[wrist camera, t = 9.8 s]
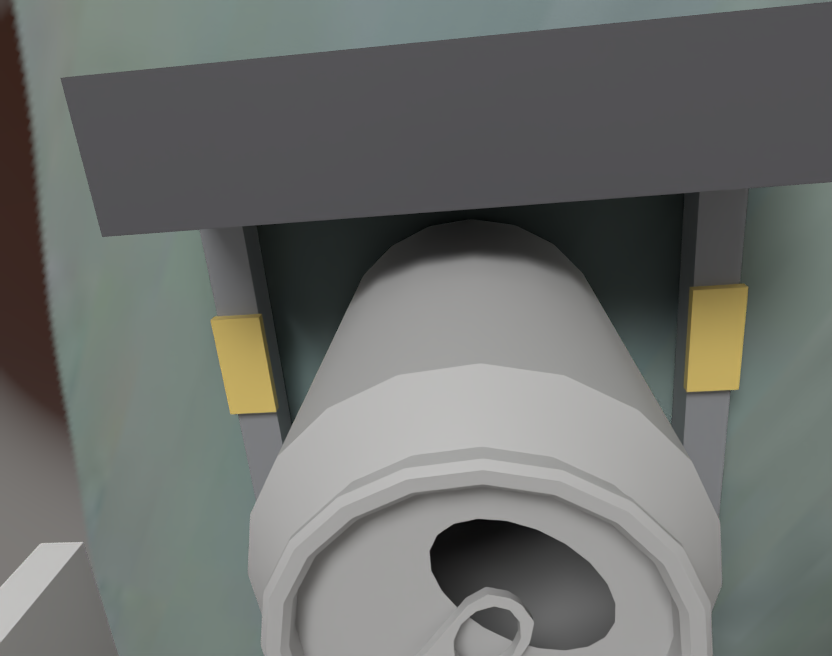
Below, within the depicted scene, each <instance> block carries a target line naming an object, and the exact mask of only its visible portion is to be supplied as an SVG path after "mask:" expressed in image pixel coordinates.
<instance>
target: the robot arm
mask: <svg viewBox="0 0 832 656" xmlns="http://www.w3.org/2000/svg"><path fill="white" fill-rule="evenodd" d="M0 656H119V655H118V652H117V649H116V646H115V642H114V639H113V636H112V633H111V629H110V626H109V623H108V620H107V616H106V613H105V610H104V607H103V603H102V600H101V597H100V594H99V590H98V587H97V584H96V581H95V577H94V574H93V571H92V568H91V564H90V561H89V558H88V554H87V551H86V548H85V545H84V542H67V543H41V544H40V545H39V546H38V547H37V548H36V549H35V550H34V551H33V552H32V553H31V554H30V555H29V557H28V558H27V559H26V560H25V561H24V562H23V563H22V564H21V565H20V566H19V567H18V568H17V570H16V571H15V572H14V573H13V574H12V575H11V576H10V577H9V578H8V579H7V580H6V582H5V583H4V584H3V585H2V586H1V587H0Z"/></svg>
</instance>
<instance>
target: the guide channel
mask: <svg viewBox="0 0 832 656" xmlns="http://www.w3.org/2000/svg"><path fill="white" fill-rule="evenodd" d="M61 82H62V86H63V89H64V93H65V97H66V101H67V105H68V108H69V112H70V116H71V120H72V124H73V127H74V131H75V135H76V139H77V143H78V146H79V150H80V154H81V158H82V162H83V165H84V169H85V173H86V177H87V181H88V184H89V188H90V192H91V196H92V200H93V203H94V207H95V211H96V215H97V219H98V223H99V226H100V230H101V234H102V237H107V236H121V235H134V234H147V233H160V232H174V231H187V230H200V234H201V239H202V244H203V249H204V253H205V258H206V263H207V268H208V273H209V277H210V282H211V287H212V292H213V296H214V301H215V306H216V311H217V317H213V318H212V319H211V325H212V329H213V334H214V339H215V343H216V348H217V353H218V357H219V362H220V367H221V371H222V376H223V381H224V386H225V390H226V395H227V400H228V404H229V409H230V414H238V416H239V421H240V426H241V431H242V436H243V440H244V445H245V450H246V455H247V460H248V464H249V469H250V474H251V479H252V484H253V488H254V493H255V498H256V501H257V499H258V497H259V495H260V492H261V490H262V488H263V486H264V484H265V482H266V479H267V477H268V475H269V473H270V471H271V469H272V467H273V464H274V462H275V460H276V458H277V456H278V454H279V452H280V449H281V447H282V445H283V443H284V441H285V439H286V437H287V435H288V433H289V431H290V428H291V426H292V423H291V418H290V412H289V406H288V401H287V395H286V389H285V384H284V378H283V372H282V367H281V361H280V356H279V350H278V344H277V339H276V333H275V327H274V322H273V316H272V310H271V305H270V299H269V293H268V288H267V282H266V276H265V271H264V265H263V259H262V254H261V248H260V242H259V237H258V231H257V226H256V225H267V224H280V223H293V222H307V221H320V220H333V219H347V218H360V217H373V216H387V215H400V214H413V213H427V212H440V211H453V210H466V209H480V208H493V207H506V206H520V205H533V204H546V203H560V202H573V201H586V200H599V199H613V198H626V197H639V196H653V195H666V194H679V193H684V211H683V229H682V247H681V265H680V283H679V301H678V319H677V336H676V354H675V372H674V390H673V408H672V428H673V430H674V431H675V433H676V435H677V437H678V438H679V440H680V442H681V443H682V445H683V447H684V449H685V450H686V452H687V454H688V455H689V457H690V459H691V461H692V463H693V465H694V467H695V469H696V471H697V473H698V476H699V478H700V480H701V482H702V484H703V486H704V488H705V491H706V493H707V495H708V497H709V499H710V501H711V503H712V506H713V508H714V510H715V512H716V514H717V516H718V518H719V512H720V501H721V489H722V478H723V467H724V456H725V445H726V434H727V423H728V412H729V401H730V390H739V381H740V370H741V360H742V349H743V339H744V328H745V318H746V307H747V297H748V286H746V285H745V284H740V279H741V268H742V256H743V245H744V234H745V223H746V212H747V201H748V190H749V188H759V187H772V186H786V185H799V184H812V183H826V182H832V2H824V3H814V4H803V5H793V6H783V7H773V8H763V9H753V10H743V11H733V12H723V13H712V14H702V15H692V16H682V17H672V18H662V19H652V20H642V21H632V22H621V23H611V24H601V25H591V26H581V27H571V28H561V29H551V30H540V31H530V32H520V33H510V34H500V35H490V36H480V37H470V38H460V39H449V40H439V41H429V42H419V43H409V44H399V45H389V46H379V47H369V48H358V49H348V50H338V51H328V52H318V53H308V54H298V55H288V56H278V57H267V58H257V59H247V60H237V61H227V62H217V63H207V64H197V65H186V66H176V67H166V68H156V69H146V70H136V71H126V72H116V73H106V74H95V75H85V76H75V77H65V78H61Z"/></svg>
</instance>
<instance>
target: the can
mask: <svg viewBox="0 0 832 656" xmlns="http://www.w3.org/2000/svg"><path fill="white" fill-rule="evenodd" d="M248 575H249V578H250V581H251V584H252V587H253V590H254V593H255V596H256V599H257V601H258V604H259V607H260V610H261V613H262V630H261V648H262V651H263V653H264V656H713V647H712V622H711V613H712V610H713V607H714V605H715V602H716V599H717V597H718V594H719V592H720V589H721V586H722V560H721V529H720V521H719V518H718V516H717V514H716V512H715V510H714V508H713V506H712V503H711V501H710V499H709V497H708V495H707V493H706V491H705V488H704V486H703V484H702V482H701V480H700V478H699V476H698V473H697V471H696V469H695V467H694V465H693V463H692V461H691V459H690V457H689V455H688V454H687V452H686V450H685V449H684V447H683V445H682V443H681V442H680V440H679V438H678V437H677V435H676V433H675V431H674V430H673V428H672V426H671V424H670V423H669V421H668V419H667V418H666V416H665V414H664V412H663V411H662V409H661V407H660V406H659V404H658V402H657V400H656V399H655V397H654V395H653V393H652V392H651V390H650V388H649V387H648V385H647V383H646V381H645V380H644V378H643V376H642V374H641V373H640V371H639V369H638V368H637V366H636V364H635V362H634V361H633V359H632V357H631V356H630V354H629V352H628V350H627V349H626V347H625V345H624V343H623V342H622V340H621V338H620V337H619V335H618V333H617V331H616V330H615V328H614V326H613V324H612V323H611V321H610V319H609V318H608V316H607V314H606V312H605V311H604V309H603V307H602V306H601V304H600V302H599V300H598V299H597V297H596V295H595V293H594V292H593V290H592V288H591V287H590V285H589V283H588V281H587V280H586V278H585V276H584V274H583V273H582V272H581V271H580V270H579V269H578V268H577V267H576V266H575V265H574V264H573V263H572V262H571V261H570V260H569V259H568V258H567V257H566V256H565V255H564V254H563V253H562V252H561V251H560V250H559V249H558V248H557V247H556V246H555V245H554V244H552V243H550V242H548V241H546V240H544V239H542V238H540V237H538V236H536V235H534V234H532V233H530V232H528V231H526V230H524V229H522V228H520V227H518V226H516V225H510V224H503V223H496V222H489V221H482V220H475V219H469V220H463V221H458V222H452V223H446V224H440V225H434V226H429V227H427V228H425V229H423V230H421V231H419V232H417V233H415V234H414V235H412V236H410V237H408V238H406V239H404V240H402V241H400V242H398V243H396V244H394V245H393V246H391V247H390V248H389V249H388V250H387V251H386V252H385V253H384V254H383V255H382V256H381V258H380V259H379V260H378V261H377V262H376V263H375V264H374V265H373V266H372V267H371V268H370V269H369V270H368V271H367V272H366V273H365V274H364V275H363V277H362V279H361V281H360V283H359V286H358V288H357V290H356V292H355V294H354V296H353V298H352V300H351V302H350V305H349V307H348V309H347V311H346V313H345V315H344V317H343V319H342V321H341V323H340V326H339V328H338V330H337V332H336V334H335V336H334V338H333V340H332V342H331V344H330V347H329V349H328V351H327V353H326V355H325V357H324V359H323V361H322V363H321V365H320V368H319V370H318V372H317V374H316V376H315V378H314V380H313V382H312V384H311V386H310V389H309V391H308V393H307V395H306V397H305V399H304V401H303V403H302V405H301V407H300V410H299V412H298V414H297V416H296V418H295V420H294V422H293V424H292V426H291V428H290V431H289V433H288V435H287V437H286V439H285V441H284V443H283V445H282V447H281V449H280V452H279V454H278V456H277V458H276V460H275V462H274V464H273V467H272V469H271V471H270V473H269V475H268V477H267V479H266V482H265V484H264V486H263V488H262V490H261V492H260V495H259V497H258V499H257V501H256V503H255V505H254V508H253V510H252V512H251V514H250V534H249V557H248Z"/></svg>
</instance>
